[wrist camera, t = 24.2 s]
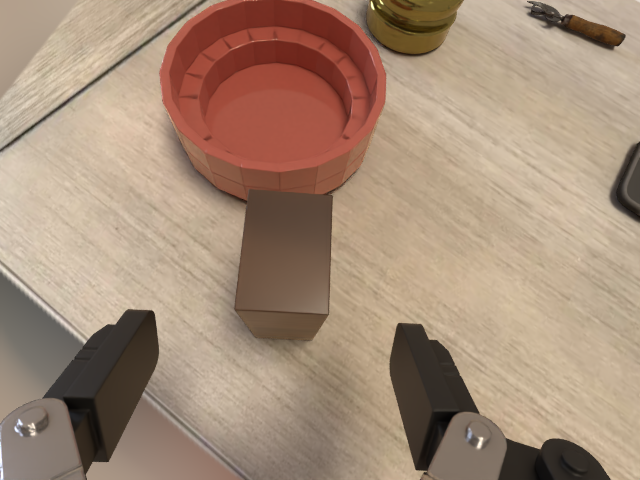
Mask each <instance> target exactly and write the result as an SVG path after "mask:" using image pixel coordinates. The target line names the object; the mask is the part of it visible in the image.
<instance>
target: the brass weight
mask: <svg viewBox="0 0 640 480" xmlns="http://www.w3.org/2000/svg"><path fill="white" fill-rule="evenodd" d="M463 1H464V0H369V4H368V9H367V13H366V21H367V25H368V27H369V29H370V31H371V33H372V34H373V36H374V37H375V38H376V39H377V40H378V41H379V42H381V43H382V44H383V45H385V46H386V47H388V48H390V49H392V50H395V51H398V52H402V53H407V54H420V53H425V52H429V51H431V50H433V49H435V48H437V47H438V46H440V45H441V44H442V43H443V41H444V40H445V38H446V36H447V34H448V32H449V29H450V27H451V25H452V24H453V23H454V21H455V19H456V15H457V10H458V9H459V7H460V6H461V4H462V3H463Z"/></svg>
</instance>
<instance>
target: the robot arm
mask: <svg viewBox="0 0 640 480" xmlns="http://www.w3.org/2000/svg"><path fill="white" fill-rule="evenodd" d="M158 356H159V345H158V336H157V328H156V319H155V314H154V312H153V311H152V310H133V309H128V310H126V311H125V312H124V314H123V315H122V316H121V318H120V319H119V321H118V322H117V323H116V325H110V324H108V325H106V326H105V327H103V328H102V329H100V330H99V331H97V332H96V333H94V334H93V335H92V336H91V337H90V339H89V340H88V341H87V342H86V344H85V345H84V346H83V349H82V350H80V351H79V353H78V354H77V355H76V356H75V359H74V360H72V361H71V363H70V364H69V365H68V366H67V368H66V369H65V370H64V372H63V373H62V374H61V375H60V377H59V378H58V379H57V380H56V382H55V383H54V384H53V385H52V387H51V388H50V389H49V390H48V392H47V393H46V394H45V395H44V397H43V398H42V399H38V400H35V401H31V402H29V403H26V404H24V405H22V406H21V407H18V408H17V409H15V410H14V411H12V412H11V413H10V414H9V415H8V416H6V417H5V418H4V419H3V421H2V422H1V423H0V480H87V478H86V473H87V471H88V469H89V468H90V466H91V464H92V462H109V460H110V458H111V456H112V454H113V452H114V450H115V448H116V446H117V444H118V442H119V440H120V438H121V436H122V434H123V432H124V430H125V428H126V425H127V424H128V422H129V420H130V418H131V416H132V414H133V412H134V409H135V408H136V406H137V404H138V402H139V400H140V398H141V396H142V394H143V392H144V390H145V388H146V386H147V384H148V382H149V380H150V378H151V376H152V374H153V372H154V370H155V367H156V365H157V361H158ZM390 377H391V381H392V384H393V388H394V392H395V395H396V399H397V403H398V406H399V410H400V414H401V418H402V421H403V425H404V429H405V432H406V436H407V440H408V443H409V447H410V451H411V454H412V458H413V462H414V466H415V469H416V470H423V471H427V472H426V473H425V472H424V473H423V475H422V477H421V479H420V480H611V479H610V478H609V476H608V475H607V473H606V472H605V470H604V469H603V468H602V466H601V465H600V463H599V462H598V461H597V460H596V459H595V458H594V457H593V456H592V455H591V454H590V453H589V452H587V451H586V450H585V449H583V448H582V447H580V446H578V445H576V444H574V443H572V442H570V441H567V440H563V439H549V440H547V441H545V442H544V444H543V445H542V447H541V449H537V448H534V447H531V446H527V445H524V444H521V443H518V442H514V441H512V440H509V439H507V438H505V436H504V434H503V433H502V431H501V430H500V429H499V427H498V426H497V425H496V424H495V423H493V422H492V421H491V420H489V419H488V418H486V417H484V416H482V415H480V413H479V411H478V409H477V407H476V405H475V403H474V401H473V399H472V397H471V395H470V393H469V391H468V389H467V387H466V385H465V383H464V381H463V379H462V377H461V376H460V373H459V371H458V369H457V367H456V366H455V363H454V361H453V359H452V357H451V355H450V353H449V351H448V350H447V349H446V348H445V347H444V346H443V345H442V344H441V343H439V342H438V341H437V340H429V339H428V337H427V334H426V332H425V330H424V328H423V326H422V325H421V324H409V323H398V325H397V328H396V332H395V337H394V342H393V347H392V352H391V357H390Z"/></svg>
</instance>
